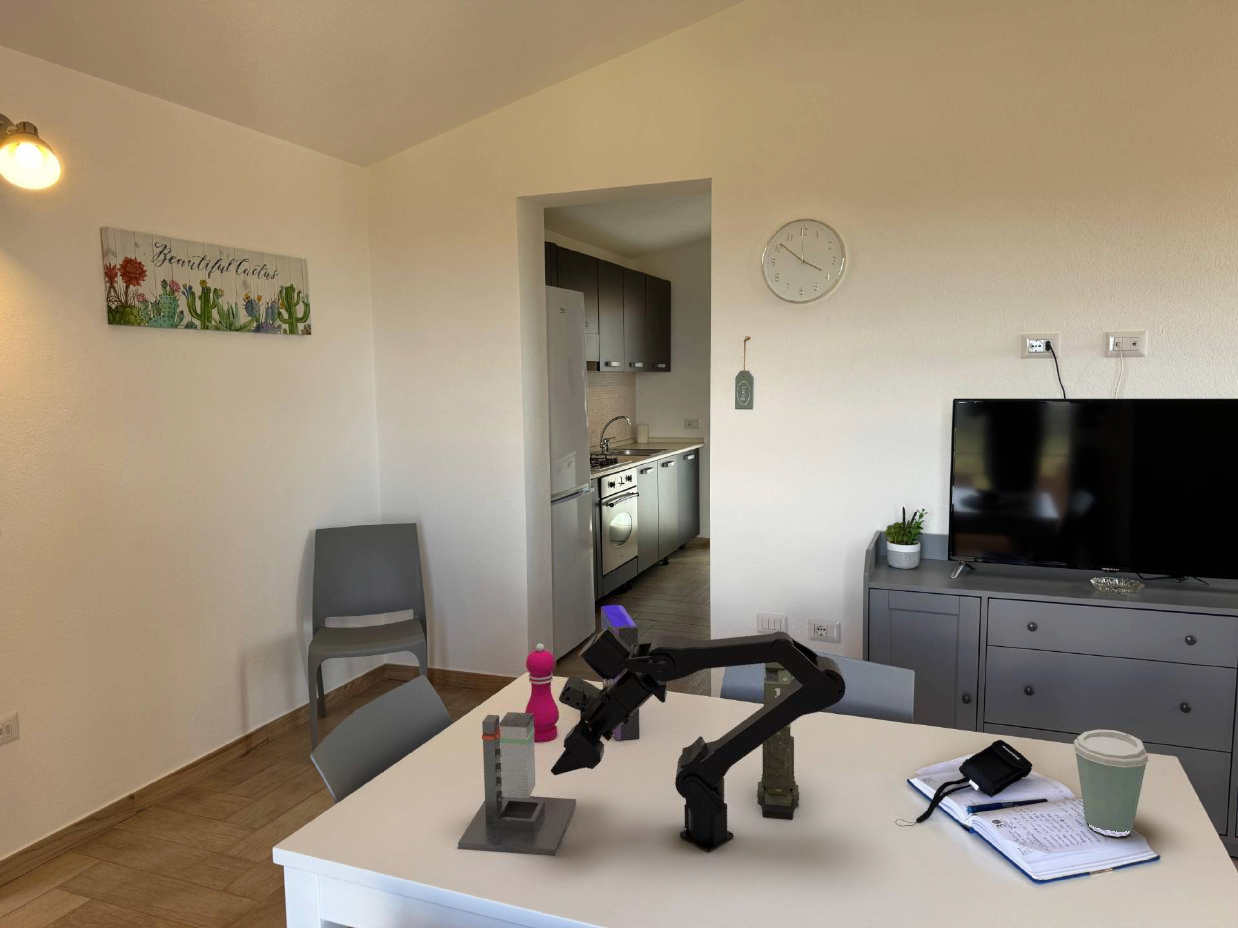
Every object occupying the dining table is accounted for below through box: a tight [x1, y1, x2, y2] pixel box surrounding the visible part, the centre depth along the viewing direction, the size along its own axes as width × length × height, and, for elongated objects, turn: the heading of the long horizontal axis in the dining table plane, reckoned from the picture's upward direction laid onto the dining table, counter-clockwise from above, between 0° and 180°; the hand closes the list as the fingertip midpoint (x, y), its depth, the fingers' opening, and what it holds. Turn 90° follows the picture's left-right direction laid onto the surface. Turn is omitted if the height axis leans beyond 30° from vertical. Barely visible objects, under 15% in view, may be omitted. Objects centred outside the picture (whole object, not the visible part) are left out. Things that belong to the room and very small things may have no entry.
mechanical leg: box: [756, 662, 800, 821], centre depth 147 cm, size 14×7×30 cm, turn 168°
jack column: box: [499, 711, 536, 798], centre depth 140 cm, size 5×5×13 cm
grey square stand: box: [457, 714, 577, 856], centre depth 140 cm, size 16×16×18 cm
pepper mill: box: [524, 643, 560, 743], centre depth 176 cm, size 7×7×20 cm
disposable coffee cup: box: [1072, 729, 1149, 832], centre depth 137 cm, size 11×11×15 cm
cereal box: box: [600, 604, 641, 742], centre depth 181 cm, size 17×5×24 cm, turn 10°
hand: (559, 759), depth 139 cm, fingers open, 9 cm apart
